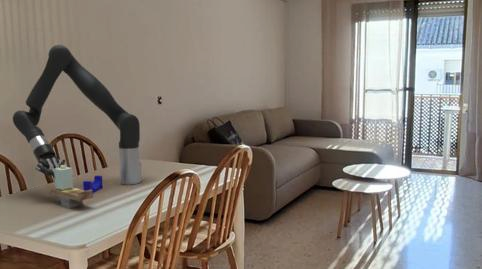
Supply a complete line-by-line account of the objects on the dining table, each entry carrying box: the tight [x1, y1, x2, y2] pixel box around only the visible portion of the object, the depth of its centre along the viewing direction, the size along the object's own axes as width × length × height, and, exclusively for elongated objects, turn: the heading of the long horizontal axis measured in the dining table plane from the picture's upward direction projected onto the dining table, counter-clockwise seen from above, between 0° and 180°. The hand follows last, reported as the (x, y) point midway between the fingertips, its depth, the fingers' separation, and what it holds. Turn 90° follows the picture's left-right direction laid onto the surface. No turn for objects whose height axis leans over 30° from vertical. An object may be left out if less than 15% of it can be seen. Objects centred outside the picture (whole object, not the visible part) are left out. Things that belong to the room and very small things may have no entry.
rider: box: [54, 164, 75, 190], centre depth 187 cm, size 5×5×9 cm
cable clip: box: [82, 175, 104, 194], centre depth 206 cm, size 12×4×6 cm, turn 171°
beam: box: [49, 187, 94, 209], centre depth 185 cm, size 6×20×7 cm, turn 53°
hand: (60, 181), depth 189 cm, fingers closed
